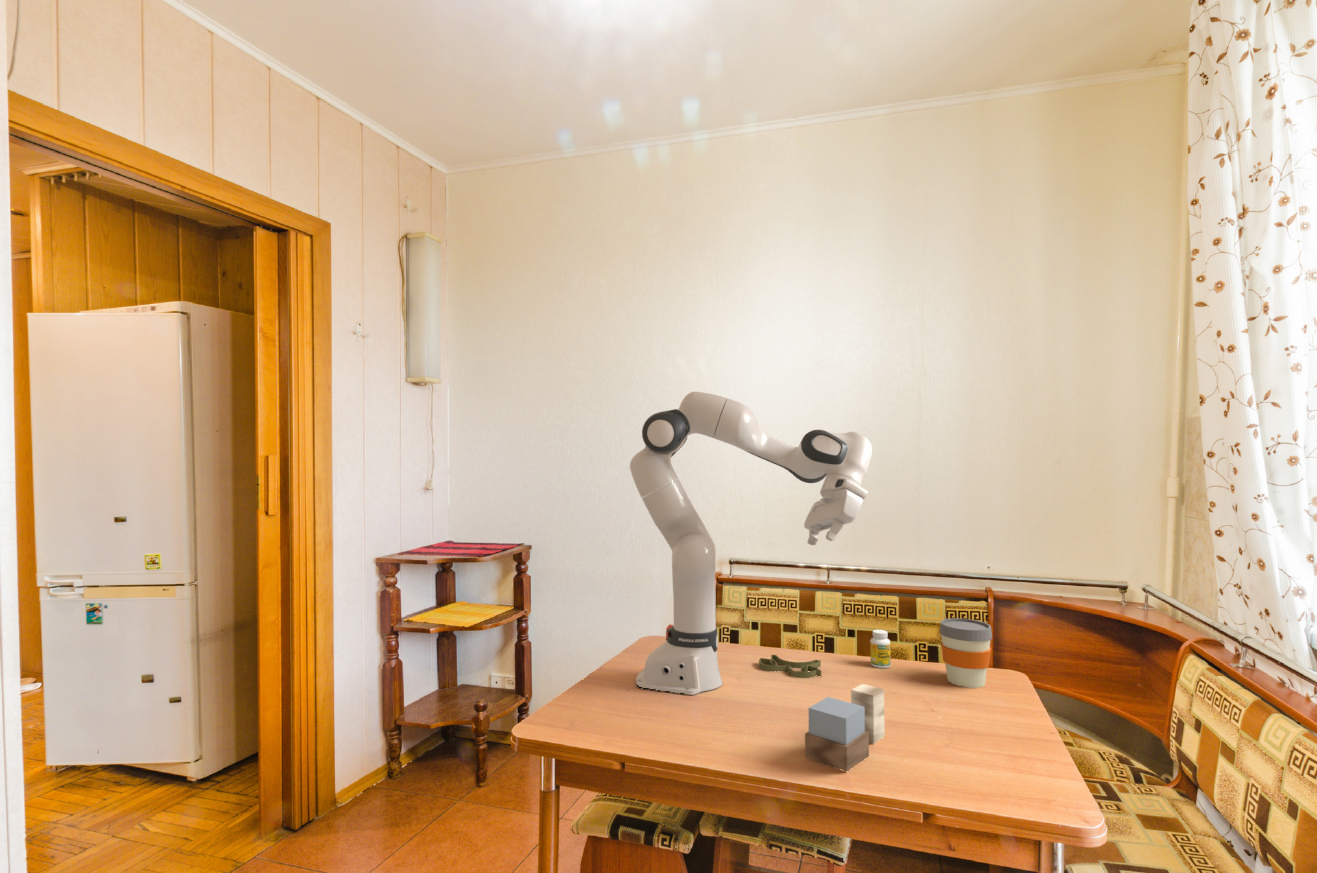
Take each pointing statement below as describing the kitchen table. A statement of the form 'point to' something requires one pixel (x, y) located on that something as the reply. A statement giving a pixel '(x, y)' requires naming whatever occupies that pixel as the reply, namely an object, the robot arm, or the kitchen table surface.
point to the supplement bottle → (880, 649)
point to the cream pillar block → (871, 709)
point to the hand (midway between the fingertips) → (820, 541)
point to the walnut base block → (837, 751)
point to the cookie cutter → (787, 666)
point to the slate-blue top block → (836, 720)
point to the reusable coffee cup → (966, 651)
